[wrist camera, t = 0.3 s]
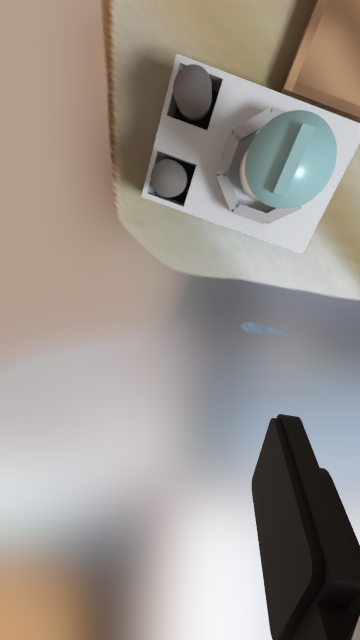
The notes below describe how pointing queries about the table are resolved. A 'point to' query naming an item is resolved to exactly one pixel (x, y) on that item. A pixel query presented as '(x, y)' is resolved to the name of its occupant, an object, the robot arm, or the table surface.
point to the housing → (225, 155)
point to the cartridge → (289, 160)
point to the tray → (329, 60)
